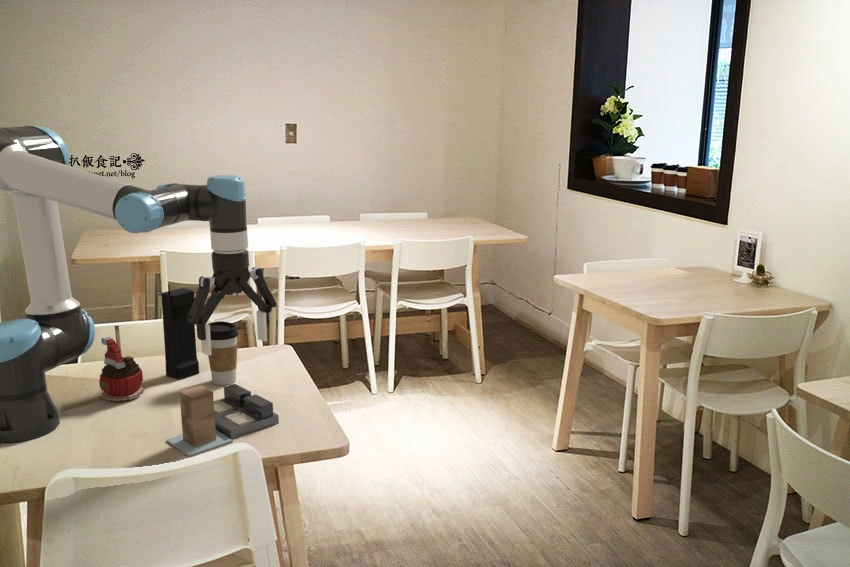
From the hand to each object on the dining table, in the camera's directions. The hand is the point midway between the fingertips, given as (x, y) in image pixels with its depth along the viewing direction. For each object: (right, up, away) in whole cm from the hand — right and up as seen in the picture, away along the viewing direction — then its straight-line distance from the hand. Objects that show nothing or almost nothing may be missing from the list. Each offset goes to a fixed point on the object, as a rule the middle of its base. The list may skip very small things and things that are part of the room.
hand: (235, 346), depth 166 cm
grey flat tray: (-2, -17, +9) cm, 19 cm away
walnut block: (-7, -19, -3) cm, 21 cm away
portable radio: (-23, -10, +37) cm, 44 cm away
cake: (-33, -14, +22) cm, 42 cm away
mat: (-7, -20, -3) cm, 21 cm away
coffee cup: (-11, -12, +32) cm, 35 cm away
